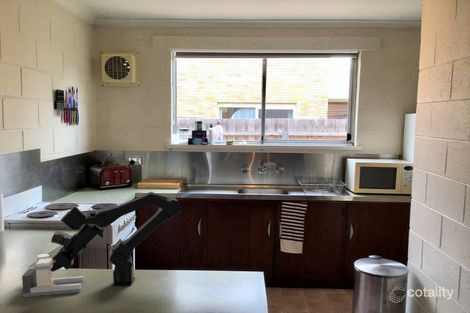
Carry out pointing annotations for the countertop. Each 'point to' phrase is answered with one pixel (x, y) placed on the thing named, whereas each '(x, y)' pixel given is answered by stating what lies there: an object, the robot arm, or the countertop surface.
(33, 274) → the track
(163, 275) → the countertop surface
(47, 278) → the cream banded box
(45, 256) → the supplement bottle
